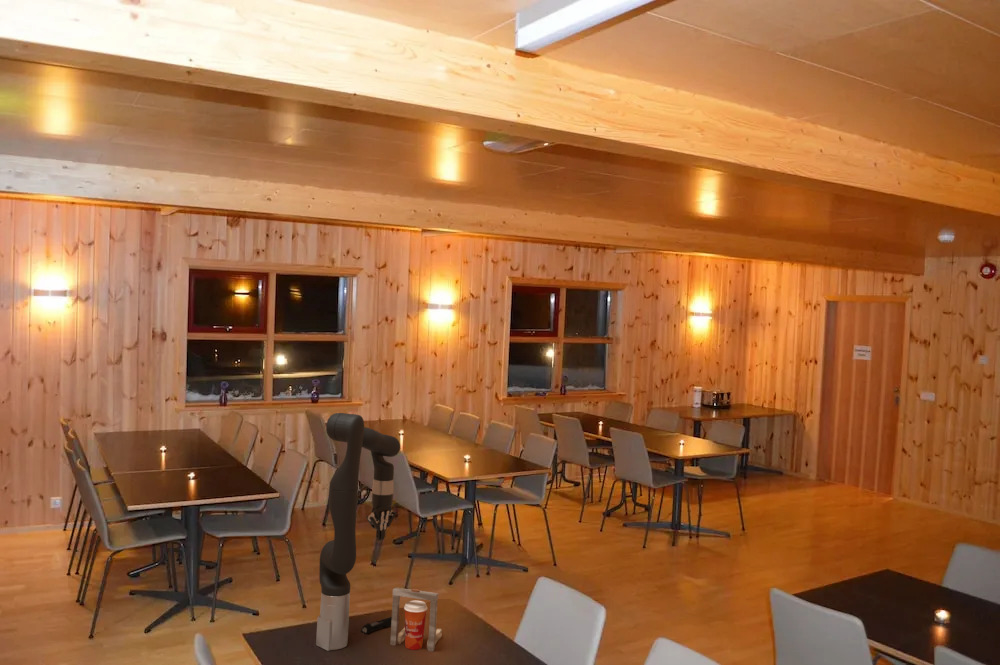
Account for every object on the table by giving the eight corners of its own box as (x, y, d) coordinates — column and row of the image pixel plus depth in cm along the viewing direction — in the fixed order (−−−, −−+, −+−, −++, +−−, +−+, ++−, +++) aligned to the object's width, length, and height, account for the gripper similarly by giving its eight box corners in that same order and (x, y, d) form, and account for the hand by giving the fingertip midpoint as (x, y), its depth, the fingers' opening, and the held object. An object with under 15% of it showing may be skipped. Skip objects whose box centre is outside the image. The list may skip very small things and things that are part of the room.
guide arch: (403, 630, 271) (406, 576, 271) (445, 637, 267) (448, 581, 267) (389, 645, 258) (392, 587, 258) (432, 652, 255) (435, 593, 255)
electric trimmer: (401, 625, 277) (402, 616, 277) (367, 636, 266) (367, 626, 266) (394, 622, 280) (394, 613, 280) (359, 632, 268) (360, 623, 268)
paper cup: (398, 648, 256) (400, 605, 256) (407, 640, 263) (409, 598, 263) (420, 653, 254) (422, 609, 253) (429, 644, 261) (431, 601, 261)
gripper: (376, 496, 277) (373, 545, 277) (403, 491, 287) (400, 538, 287) (361, 492, 281) (359, 540, 281) (389, 487, 292) (386, 534, 292)
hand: (380, 539), depth 284 cm, fingers closed
